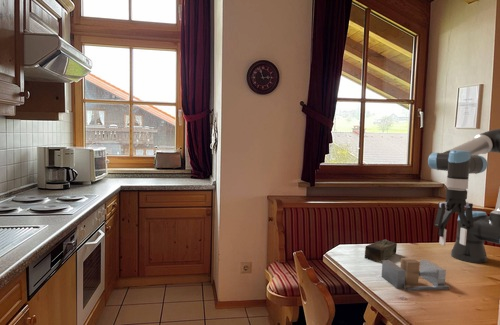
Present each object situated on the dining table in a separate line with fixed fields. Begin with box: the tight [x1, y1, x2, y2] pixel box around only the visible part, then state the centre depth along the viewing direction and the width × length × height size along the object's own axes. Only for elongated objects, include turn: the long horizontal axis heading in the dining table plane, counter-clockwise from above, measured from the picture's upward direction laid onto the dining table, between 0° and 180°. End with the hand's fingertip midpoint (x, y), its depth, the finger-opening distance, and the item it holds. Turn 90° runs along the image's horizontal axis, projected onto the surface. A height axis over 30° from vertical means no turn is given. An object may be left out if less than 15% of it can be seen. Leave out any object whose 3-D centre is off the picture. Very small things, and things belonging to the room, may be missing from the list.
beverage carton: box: [364, 239, 398, 263], centre depth 182 cm, size 8×19×7 cm, turn 136°
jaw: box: [419, 258, 447, 286], centre depth 152 cm, size 3×12×7 cm, turn 8°
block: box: [400, 257, 420, 286], centre depth 150 cm, size 5×5×9 cm
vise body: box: [381, 259, 451, 292], centre depth 151 cm, size 20×16×7 cm
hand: (452, 244), depth 152 cm, fingers open, 8 cm apart
